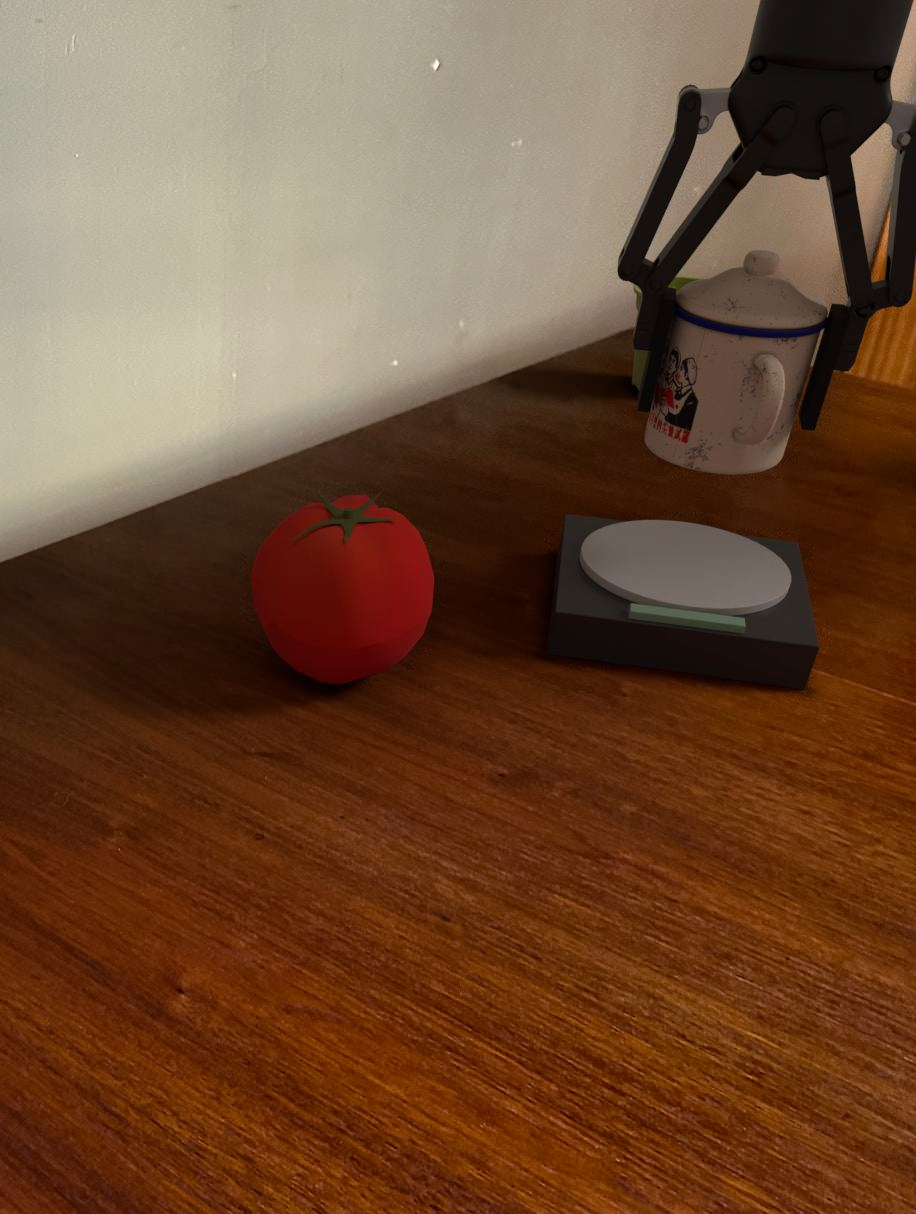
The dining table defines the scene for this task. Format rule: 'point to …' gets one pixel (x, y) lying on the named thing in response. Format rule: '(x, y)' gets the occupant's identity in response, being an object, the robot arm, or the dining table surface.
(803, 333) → the teacup with lid
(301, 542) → the tomato
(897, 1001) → the dining table surface
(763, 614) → the scale
